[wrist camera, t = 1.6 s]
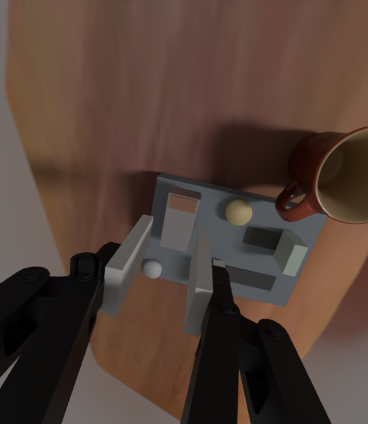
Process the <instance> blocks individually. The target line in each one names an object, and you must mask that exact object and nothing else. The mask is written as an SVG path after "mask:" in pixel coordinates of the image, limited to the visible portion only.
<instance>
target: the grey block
mask: <svg viewBox="0 0 368 424" xmlns="http://www.w3.org/2000/svg"><path fill="white" fill-rule="evenodd" d="M307 249H308V247H307V245H306V244H305V243H304V242H303V241H302V240H301V239H300V237H299V236H298V235H297V234H296V233H295V232H291V231H287V230H283V233H282V235H281V238H280V240H279V242H278V245H277V247H276V250H275V252H274V255H273V257H274V259H275V261H276V263H277V265H278V267H279V268H280V270H281V272H282V274H285V275H290V276H294V277H295V275H296V273H297V271H298V269H299V267H300V265H301V262H302V260H303V258H304V256H305V254H306V252H307Z"/></svg>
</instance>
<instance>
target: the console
mask: <svg viewBox="0 0 368 424" xmlns="http://www.w3.org/2000/svg"><path fill="white" fill-rule="evenodd" d="M171 186H175V187H179V188H183V189H188V190H192V191H196V192H201V193H202V194H201V200H200V204H199V208H198V212H197V215H196V219H195V223H194V227H193V230H192V234H191V238H190V242H189V245H188V249H187V252H183V251H178V250H174V249H170V248H165V247H161V246H160V242H161V236H162V230H163V224H164V218H165V212H166V206H167V200H168V194H169V191H170V188H171ZM275 201H276V198H272V197H268V196H263V195H259V194H255V193H250V192H246V191H241V190H237V189H233V188H228V187H224V186H220V185H215V184H211V183H206V182H202V181H198V180H193V179H189V178H185V177H180V176H176V175H171V174H167V173H163V172H161V173H160V174H159V175H158V176H157V182H156V188H155V193H154V199H153V205H152V211H151V216H153V223H152V228H151V234H150V240H149V245H148V250H147V252H146V254H145V256H144V259H143V263H142V269H141V274H144V275H146V276H147V277H149V278H162V279H166V280H170V281H174V282H179V283H183V284H187V285H188V283H189V274H190V264H191V258H192V254H193V250H194V246H195V242H196V238H197V234H198V231H199V227H201V228H205V229H209V230H210V244H211V263H212V264H213V260H214V259H215V260H219V261H224V262H225V269H226V270H227V272H228V273H229V277H230V283H231V289H232V295H235V296H239V297H243V298H248V299H252V300H256V301H261V302H265V303H269V304H274V305H278V306H282V307H285V305H286V303H287V301H288V299H289V297H290V295H291V293H292V291H293V288H294V286H295V284H296V282H297V280H298V278H299V276H300V274H301V271H302V269H303V267H304V265H305V263H306V261H307V259H308V257H309V255H310V252H311V250H312V248H313V246H314V244H315V242H316V240H317V238H318V235H319V233H320V231H321V229H322V227H323V225H324V223H325V221H326V219H327V215H326V214H325V213H324V212H322V211H321V212H319V213H316V214H314V215H310V216H308V217H306V218H304V219H302V220H299V221H296V222H287V221H284V220H283V219H282V218H281V217H280V216H279V215H278V213H277V211H276V209H275ZM297 204H298V203H294V202H289V203H288V204H287V206H286V209H288V208H291V207H293V206H295V205H297ZM283 230H287V231H291V232H295V233H296V234H297V235H298V236H299V237H300V239H301V240H302V241H303V242H304V243H305V244H306V245H307V247H308V249H307V252H306V254H305V256H304V258H303V260H302V262H301V265H300V267H299V269H298V271H297V273H296V275H295V277H294V276H290V275H285V274H282V272H281V270H280V268H279V267H278V265H277V263H276V261H275V259H274V257H273V255H274V252H275V250H276V247H277V245H278V242H279V240H280V238H281V235H282V233H283Z"/></svg>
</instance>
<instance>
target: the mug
mask: <svg viewBox="0 0 368 424" xmlns="http://www.w3.org/2000/svg"><path fill="white" fill-rule="evenodd" d="M288 172H289V175H290V177H291V179H292V181H291V182H290V183H289V184H288V185H287V186H286V187H285V189H284V190H283V191H282V192H281V193H280V194H279V196H278V197H277V199H276V201H275V209H276V211H277V213H278V215H279V216H280V217H281V218H282V219H283V220H284V221H287V222H296V221H299V220H302V219H304V218H306V217H308V216H310V215H314V214H316V213H319V212H321V211H323V212H324V213H325V214H326V215H327V216H328V217H330V218H331V219H334V220H336V221H339V222H343V223H347V224H365V223H368V126H367V127H363V128H360V129H357V130H355V131H352V132H350V133H337V132H323V133H320V134H317V135H314V136H311V137H308V138H306V139H305V140H303V141H302V142H301V143H299V144H298V145H297V146H296V148H295V149H294V150H293V152H292V154H291V156H290V159H289V164H288ZM303 194H306V196H305V197H304V199H303V200H302V201H301V202H300V203H299V204H297V205H295V206H293V207H291V208H288V209H286V206H287V204H288V203H289V202H290V201H291V200H292V199H294V198H296V197H298V196H300V195H303Z"/></svg>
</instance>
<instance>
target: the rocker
mask: <svg viewBox="0 0 368 424" xmlns="http://www.w3.org/2000/svg"><path fill="white" fill-rule="evenodd" d="M201 194H202V193H201V192H196V191H192V190H188V189H183V188H179V187H175V186H171V188H170V191H169V194H168V200H167V206H166V212H165V218H164V224H163V230H162V236H161V242H160V246H161V247H165V248H170V249H174V250H178V251H183V252H187V249H188V245H189V242H190V238H191V234H192V230H193V227H194V223H195V219H196V215H197V212H198V208H199V204H200V200H201Z"/></svg>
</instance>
